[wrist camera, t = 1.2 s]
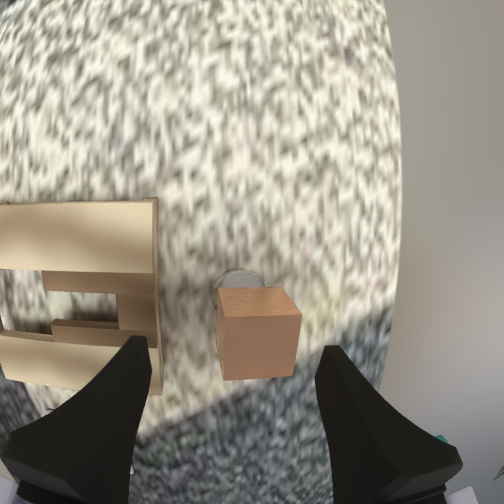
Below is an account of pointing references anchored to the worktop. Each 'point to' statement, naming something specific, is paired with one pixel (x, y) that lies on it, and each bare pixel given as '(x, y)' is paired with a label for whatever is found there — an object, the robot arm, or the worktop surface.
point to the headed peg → (254, 327)
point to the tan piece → (83, 285)
